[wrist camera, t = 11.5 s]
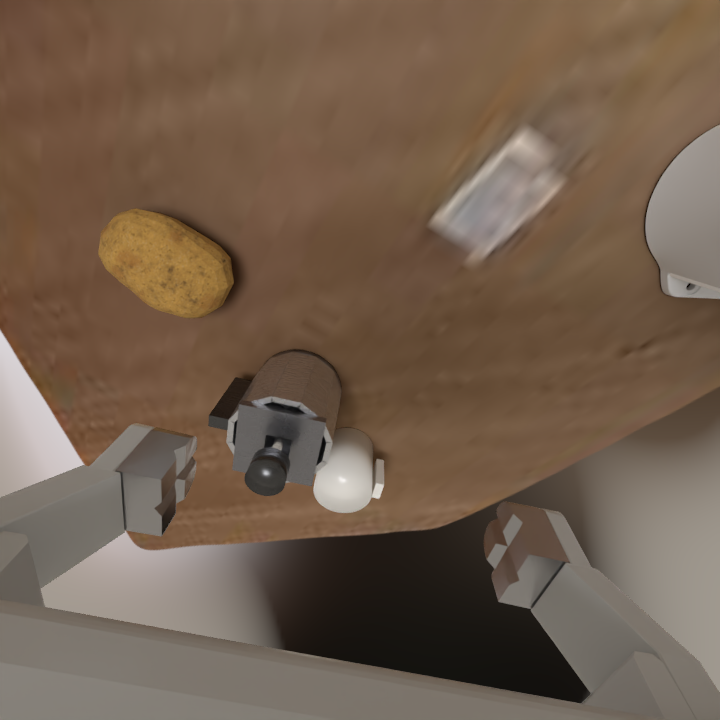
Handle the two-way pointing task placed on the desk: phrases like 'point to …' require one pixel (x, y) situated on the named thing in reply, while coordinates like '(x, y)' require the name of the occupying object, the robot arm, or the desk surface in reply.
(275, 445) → the plunger
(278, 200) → the desk surface
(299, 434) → the carafe
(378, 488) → the white ceramic cylinder
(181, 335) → the desk surface
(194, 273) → the potato
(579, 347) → the desk surface
